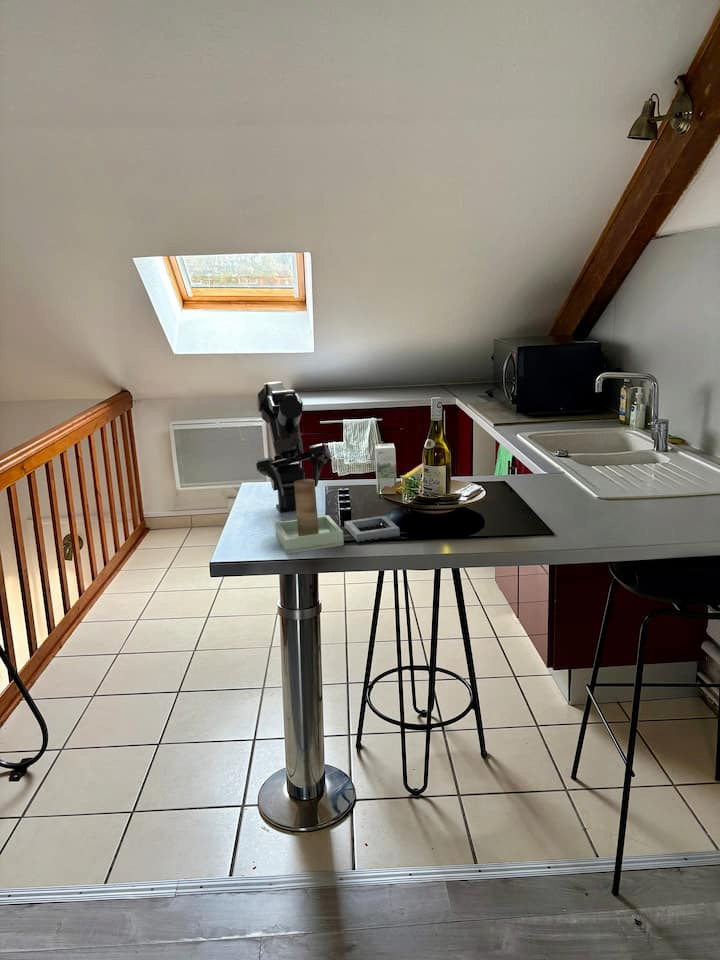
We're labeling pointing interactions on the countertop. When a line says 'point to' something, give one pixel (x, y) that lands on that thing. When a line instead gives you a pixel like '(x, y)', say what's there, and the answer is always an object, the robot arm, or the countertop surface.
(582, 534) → the countertop surface
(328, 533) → the tray
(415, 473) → the candy box
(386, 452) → the syrup box
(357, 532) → the steel collar
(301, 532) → the lock pin
